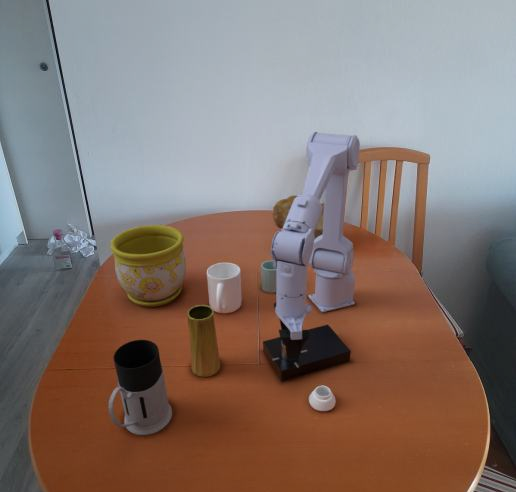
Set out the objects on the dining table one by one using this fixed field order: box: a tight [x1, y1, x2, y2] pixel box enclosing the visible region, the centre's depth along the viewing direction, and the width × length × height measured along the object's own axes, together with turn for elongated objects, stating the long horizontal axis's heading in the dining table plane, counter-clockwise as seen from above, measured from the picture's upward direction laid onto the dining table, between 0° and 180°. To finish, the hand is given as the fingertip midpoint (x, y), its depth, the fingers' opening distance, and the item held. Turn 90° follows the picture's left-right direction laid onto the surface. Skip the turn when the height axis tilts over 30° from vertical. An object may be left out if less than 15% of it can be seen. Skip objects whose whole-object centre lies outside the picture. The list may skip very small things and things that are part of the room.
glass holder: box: [108, 339, 173, 436], centre depth 77 cm, size 9×14×15 cm, turn 167°
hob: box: [262, 324, 352, 382], centre depth 96 cm, size 16×10×3 cm, turn 111°
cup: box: [260, 259, 277, 294], centre depth 120 cm, size 5×5×7 cm
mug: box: [206, 262, 243, 314], centre depth 110 cm, size 12×8×10 cm
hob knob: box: [281, 341, 296, 361], centre depth 92 cm, size 4×4×4 cm
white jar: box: [308, 385, 337, 412], centre depth 84 cm, size 5×3×5 cm
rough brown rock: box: [272, 195, 325, 239], centre depth 140 cm, size 23×17×15 cm
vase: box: [187, 304, 221, 378], centre depth 91 cm, size 6×6×14 cm
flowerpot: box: [109, 224, 187, 308], centre depth 116 cm, size 18×18×16 cm
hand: (290, 345), depth 91 cm, fingers open, 7 cm apart
